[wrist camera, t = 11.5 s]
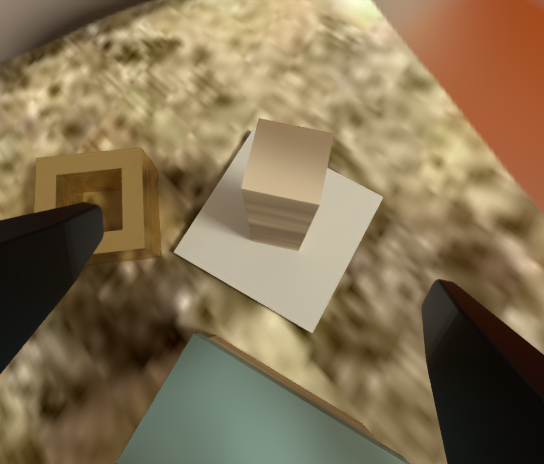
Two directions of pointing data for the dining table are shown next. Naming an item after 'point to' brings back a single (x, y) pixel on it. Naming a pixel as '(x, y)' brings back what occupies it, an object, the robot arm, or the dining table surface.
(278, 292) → the grey mat
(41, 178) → the frame
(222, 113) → the dining table surface
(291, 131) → the brown square block
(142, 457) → the drawer
